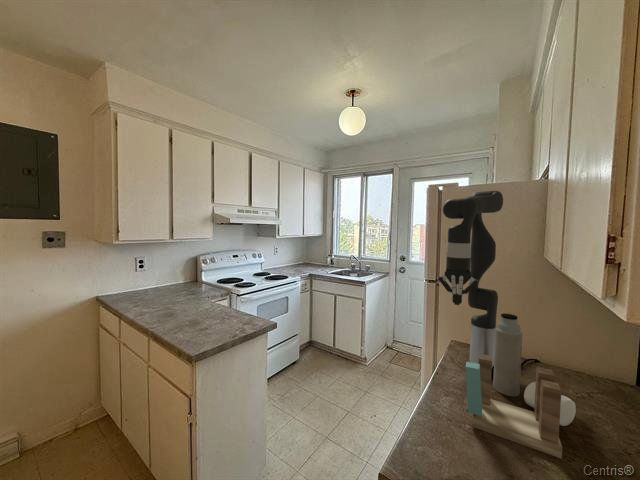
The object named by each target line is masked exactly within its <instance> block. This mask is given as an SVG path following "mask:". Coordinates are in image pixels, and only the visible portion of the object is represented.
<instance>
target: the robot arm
mask: <svg viewBox="0 0 640 480" xmlns="http://www.w3.org/2000/svg"><path fill="white" fill-rule="evenodd" d="M503 196H504V195H503V194H502V192H501V191H499V190H485V191H484V190H483V191H475V192H474V193H473V194H472V196H466V197H461V198H449V199H447V200H446V201H445V202H444V203H443V205H442V213H443V215H444V216H445V218H447V219H450V220H458V219H459V220H460V219H461V220H462V221H461V223H460V224H456V225H452V226H450V227H448V230H447V246H446V252H445V253H446V254H445V255H446V260H445V261H446V263H445V265H446V267H445V271H444V274H442V275H440V276H438V278H437V279H438V281H439V283H440V284H441V285H442V286H443V288H445V290H446V292H449V293H451V294H452V303H453V304H454V305H455V306H460V304H462V302H463V295H467V303H468V306H469V308H472V309H476V310H481V311H486V313H484V314H477V315H473V316H472V317H471V318H470V339H469V341H470V343H469V362H471V363H477V364H478V362H479V354H483V355H487V356H491V357H492V369H494V368H493V367H494V354H495V332H496V327H497V326H496V325H497V312H498V305H499V304H498V303H499V295H498V292H497V291H496V290H494V289H491V288H490V289H488V288H483V287H479V284H480V281H481V279H482V277H483V276H484V275H485V274H486V272H487V271H488V270H489V268H491V266H492V265H493V264H494V262H495V260H496V257H497V255H496V252H497V250H496V249H497V244H496V241H495V239H494V238H493V236H492V235H491V233H490V232H489V231H488V229H487V228H486V225H485V224H484V220H483V217H482V216H483V215H482V214H489V213H498V212H500V211H501V210H502V208H503V205H504V197H503ZM447 280H448V282H449V283H450V284H451V286H450V284H449V283H448V282H447ZM468 281H469V283H468ZM467 283H468V285H467V287H465V288H464V285H465V284H467ZM457 285H458V288H457ZM463 288H464V289H463Z"/></svg>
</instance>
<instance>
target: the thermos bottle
mask: <svg viewBox="0 0 640 480" xmlns="http://www.w3.org/2000/svg"><path fill="white" fill-rule="evenodd" d="M500 316H501V318H500V320H499V321H498V322H497V326H496V332H495V354H494V368H493V376H492V377H493V381H492V387H493V389H494V390H495V391H496V392H498V393H500V394H503V395H505V396H507V397H518V396H519V395H520V389H521V372H522V371H521V369H522V367H521V366H522V365H521V364H522V351H523V350H522V347H523V332H522V331H521V329H522V328H521V325H520V324H518V316H517V315H515V314H511V313H503V312H502V313H501V314H500Z"/></svg>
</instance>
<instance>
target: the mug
mask: <svg viewBox="0 0 640 480" xmlns="http://www.w3.org/2000/svg"><path fill="white" fill-rule="evenodd" d="M535 387H536V381H532V382H530V383H529V384H528V385H527V386H526V387H525V390H524V393H523V398H524V402H525V403H526V404H527V405H528V406H530V407H531V408H533V409H534V406H535ZM576 405H577V404H576V403H575V402H574V401H573V400H572V399H571V398H569V397H568V396H565V395H562V394H561V406H560V423H559V426H562V427H565V426H568V425H570V424H571V423H572V422H573V421H574V418H575V417H576V412H577V411H576V410H577V409H576V407H577V406H576Z"/></svg>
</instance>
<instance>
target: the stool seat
mask: <svg viewBox="0 0 640 480" xmlns="http://www.w3.org/2000/svg"><path fill="white" fill-rule="evenodd" d="M478 364H480V378H481V396H482V416H479V415H475V414H472V415H473V416H472V427H473V428H474V429H477V430H481V431H484V432H486V433H489V434H491V435H494V436H497V437H501V438H502V439H506V440H509V441H511V442H514V443H516V444H519V445H523V446H525V447H528V448H531V449H533V450H537V451H539V452H541V453H545V454H547V455H550V456H553V457H556V458H558V459H563V445H562V442H561V439H560V424H559V423H560V406H561V395H562V389H561V387H560V385H559V383H557V382H555V378H556V377H555V376H556V375H555V373H554V371H553V369H549V368H543V367H539V366H536V371H535V373H536V374H535V382H536V387H535V406H534V408H533V410H534V411H532V410H529V409H527V408H523V407H518V406H515V405H511V404H510V403H509V404H508V403H505V402H502V401H498V400H496V399H493V398H491V394H492V393H491V392H492V390H491V389H492V388H491V387H492V371H493V370H492V369H493V368H492V357H491V356H487V355H483V354H479V362H478Z"/></svg>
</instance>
